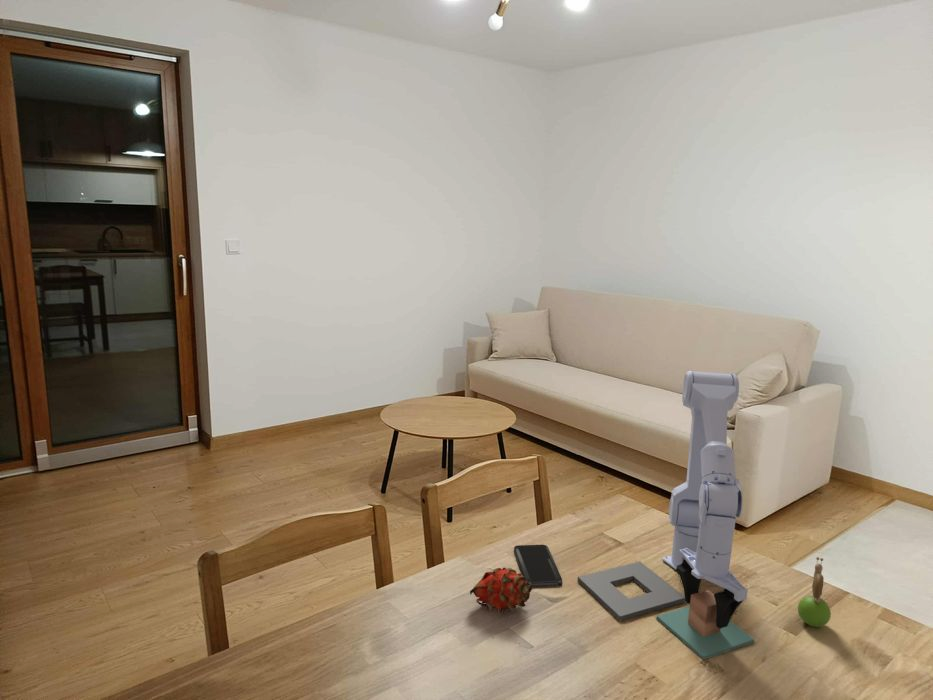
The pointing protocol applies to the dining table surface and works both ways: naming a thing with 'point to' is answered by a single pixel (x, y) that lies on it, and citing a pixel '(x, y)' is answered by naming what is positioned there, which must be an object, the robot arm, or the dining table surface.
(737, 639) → the teal mat
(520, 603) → the dragon fruit
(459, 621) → the dining table surface
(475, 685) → the dining table surface
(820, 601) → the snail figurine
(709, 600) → the terracotta block
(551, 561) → the phone
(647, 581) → the charcoal pocket board
